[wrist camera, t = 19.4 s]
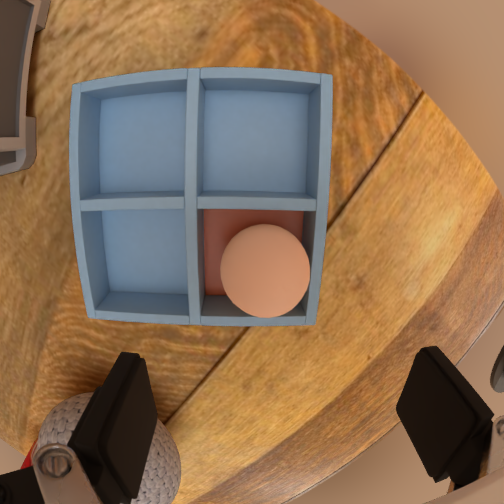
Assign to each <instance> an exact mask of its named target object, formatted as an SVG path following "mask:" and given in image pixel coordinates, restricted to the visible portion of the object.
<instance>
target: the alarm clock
mask: <svg viewBox="0 0 504 504" xmlns="http://www.w3.org/2000/svg"><path fill="white" fill-rule="evenodd" d="M49 5H50V0H0V176H2V175H5V174H9V173H13V172H17V171H21V170H24V169H29V167H30V166H31V165H32V164H33V163H34V160H35V157H36V118H35V117H26V97H27V84H28V73H29V64H30V57H31V50H32V43H33V37H34V33H35V32H37V31H40V30H42V29H44V28H45V24H46V19H47V14H48V10H49Z"/></svg>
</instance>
